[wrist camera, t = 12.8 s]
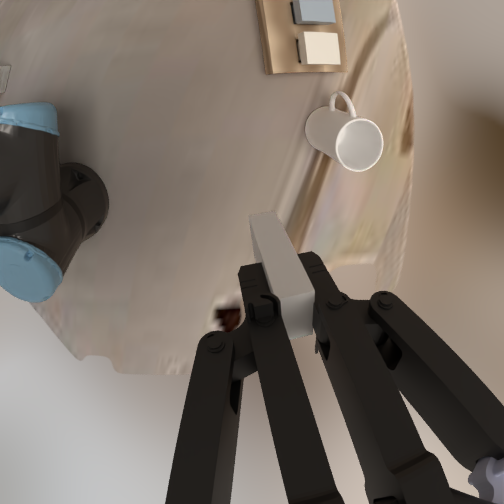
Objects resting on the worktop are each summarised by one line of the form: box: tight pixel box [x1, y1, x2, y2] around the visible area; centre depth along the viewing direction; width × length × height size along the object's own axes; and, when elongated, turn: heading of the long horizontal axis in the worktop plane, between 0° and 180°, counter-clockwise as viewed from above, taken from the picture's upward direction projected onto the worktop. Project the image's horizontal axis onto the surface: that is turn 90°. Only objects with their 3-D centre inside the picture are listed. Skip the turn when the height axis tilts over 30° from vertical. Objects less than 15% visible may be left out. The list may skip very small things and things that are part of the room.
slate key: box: [291, 0, 336, 25], centre depth 27 cm, size 5×5×7 cm
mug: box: [305, 91, 383, 172], centre depth 38 cm, size 12×8×12 cm
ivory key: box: [296, 32, 341, 65], centre depth 30 cm, size 5×5×7 cm
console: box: [255, 0, 348, 74], centre depth 30 cm, size 12×20×5 cm, turn 7°
